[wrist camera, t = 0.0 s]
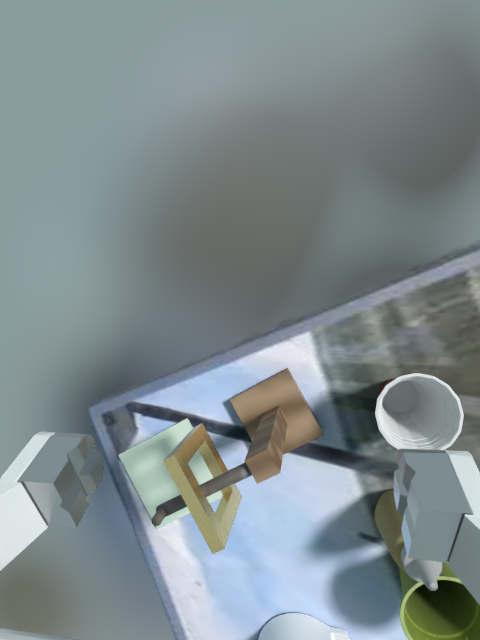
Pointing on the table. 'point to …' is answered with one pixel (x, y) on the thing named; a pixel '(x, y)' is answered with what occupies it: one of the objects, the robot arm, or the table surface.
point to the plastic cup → (419, 413)
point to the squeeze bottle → (393, 538)
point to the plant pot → (439, 609)
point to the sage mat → (162, 470)
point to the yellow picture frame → (208, 522)
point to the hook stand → (262, 434)
